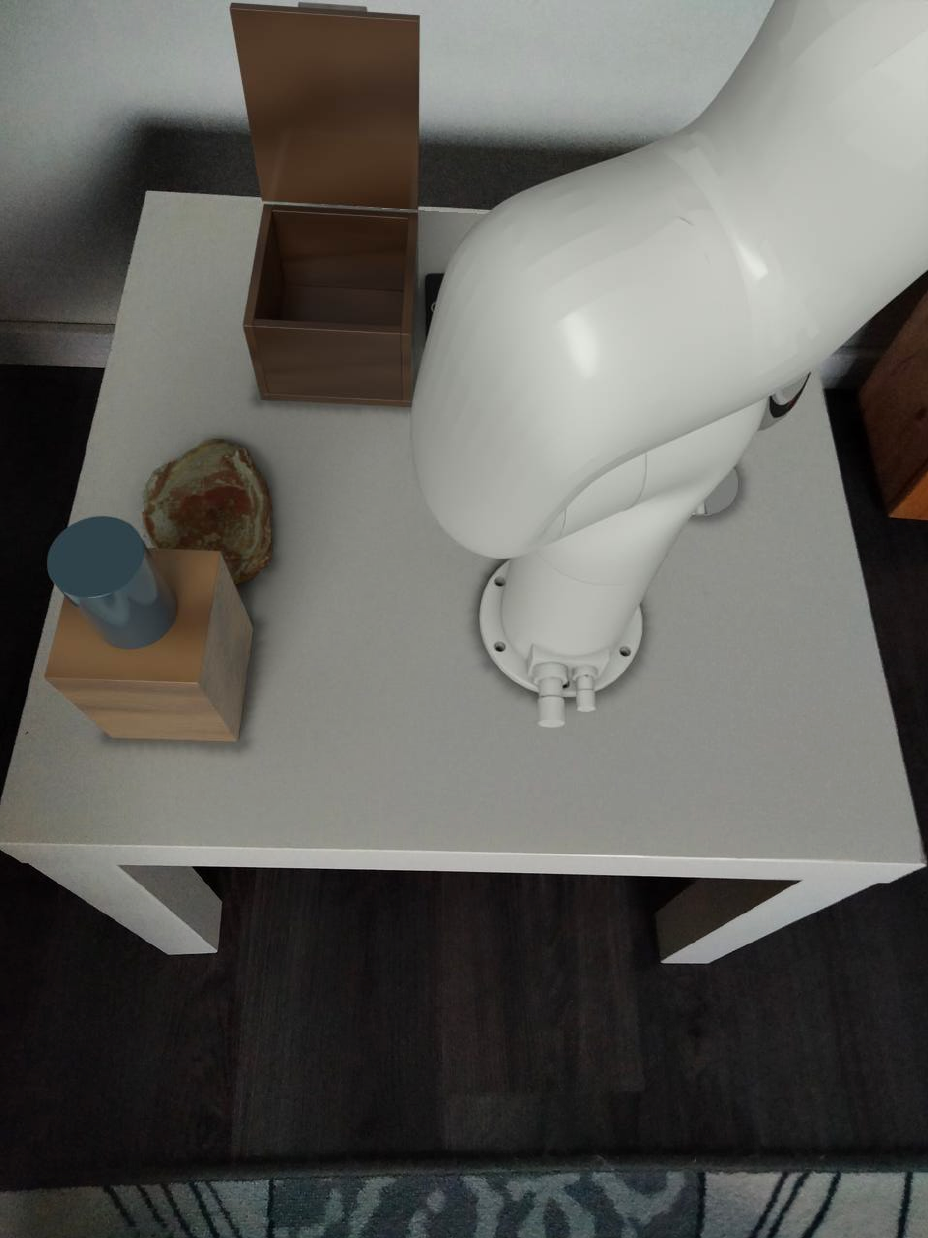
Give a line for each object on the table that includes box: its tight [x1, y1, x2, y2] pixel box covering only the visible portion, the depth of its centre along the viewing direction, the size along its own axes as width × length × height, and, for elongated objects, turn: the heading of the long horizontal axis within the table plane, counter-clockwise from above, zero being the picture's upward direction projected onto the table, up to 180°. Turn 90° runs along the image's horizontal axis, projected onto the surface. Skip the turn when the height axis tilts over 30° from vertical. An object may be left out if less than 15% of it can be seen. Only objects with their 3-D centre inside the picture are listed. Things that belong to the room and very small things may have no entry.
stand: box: [44, 547, 254, 743], centre depth 57 cm, size 9×9×12 cm
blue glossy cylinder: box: [46, 515, 177, 649], centre depth 48 cm, size 5×5×7 cm
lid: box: [229, 1, 421, 211], centre depth 65 cm, size 14×13×5 cm
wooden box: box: [242, 203, 420, 408], centre depth 72 cm, size 14×13×9 cm
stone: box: [141, 438, 274, 586], centre depth 66 cm, size 13×10×3 cm
